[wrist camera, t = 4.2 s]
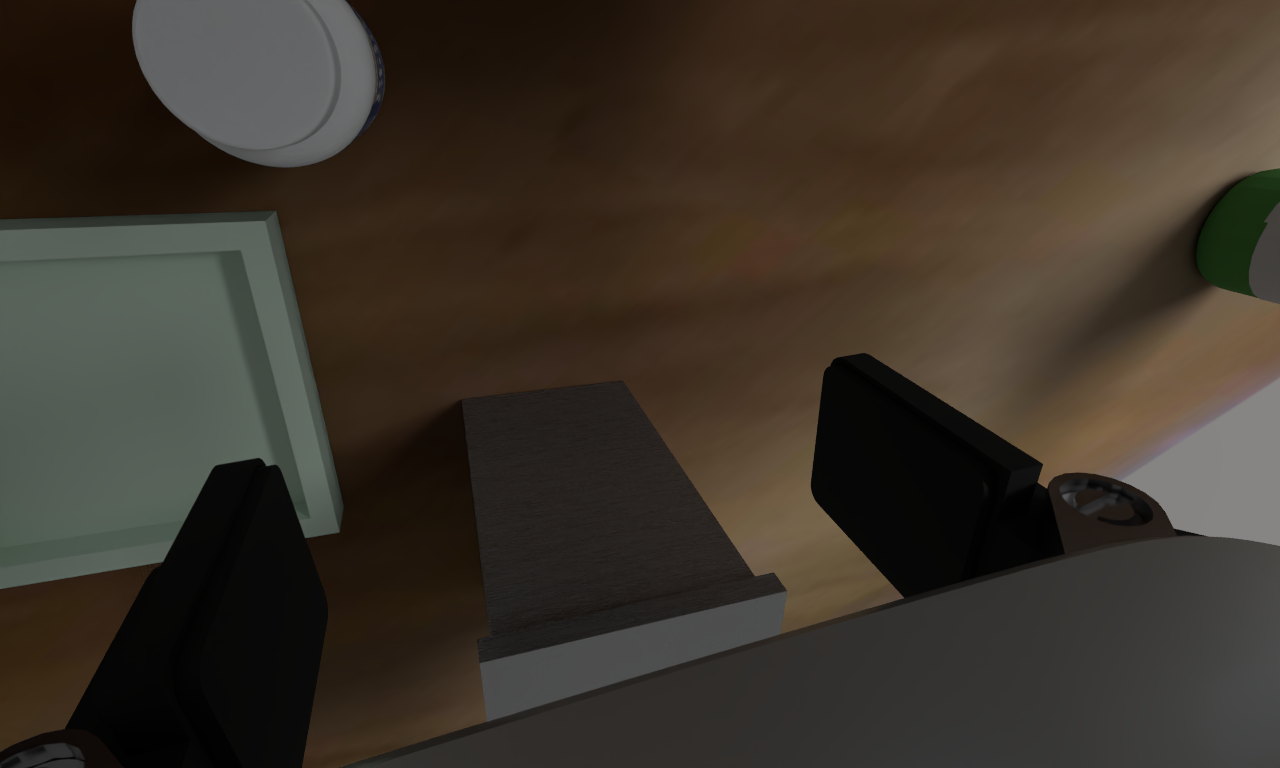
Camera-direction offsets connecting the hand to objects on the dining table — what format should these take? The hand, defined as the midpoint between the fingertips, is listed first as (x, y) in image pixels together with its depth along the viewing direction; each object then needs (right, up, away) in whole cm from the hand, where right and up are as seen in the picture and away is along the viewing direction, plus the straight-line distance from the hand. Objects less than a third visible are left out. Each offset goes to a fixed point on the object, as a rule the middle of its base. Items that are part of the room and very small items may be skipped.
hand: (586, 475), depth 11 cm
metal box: (-4, -4, +23) cm, 23 cm away
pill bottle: (-11, +13, +12) cm, 21 cm away
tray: (-20, +1, +14) cm, 25 cm away
